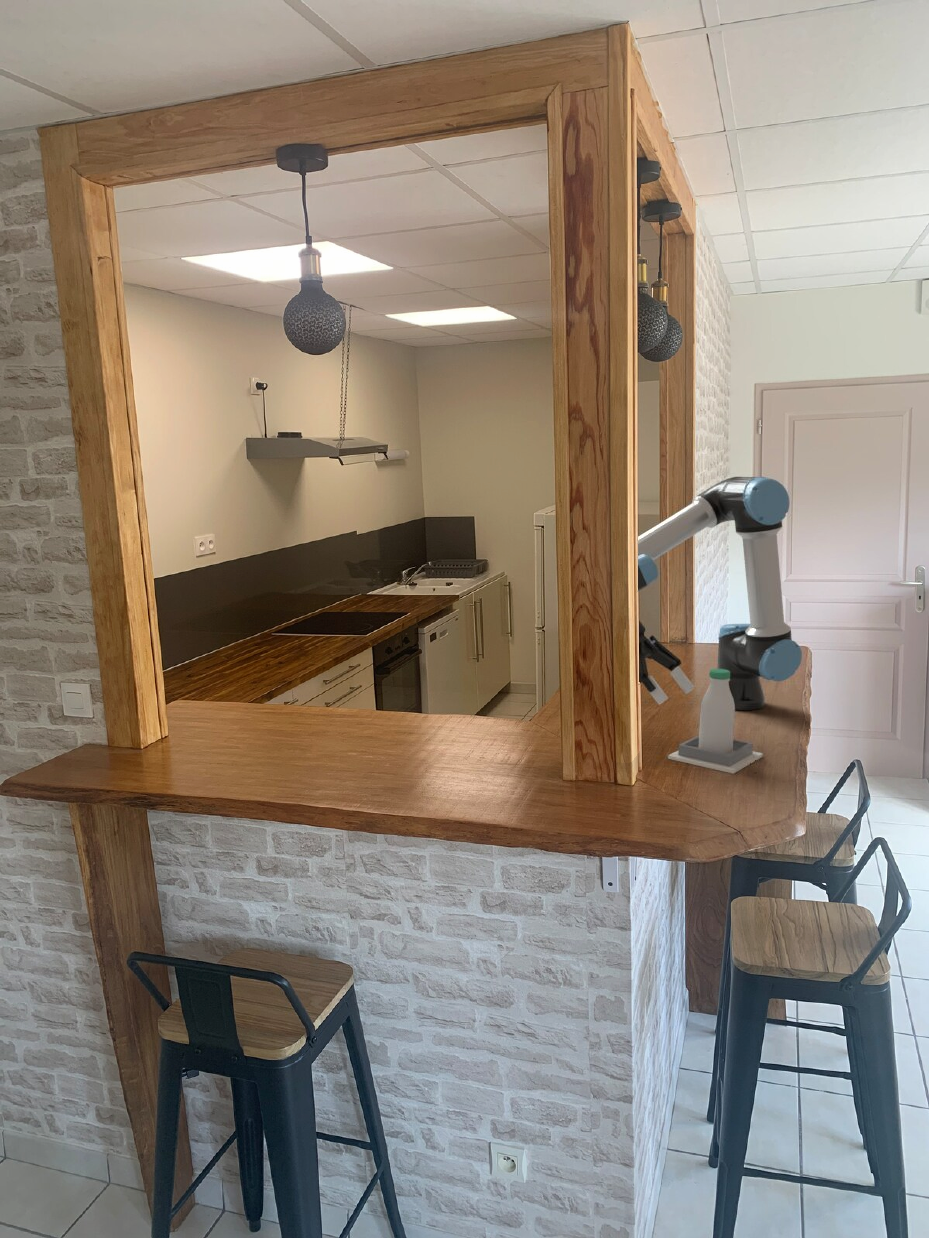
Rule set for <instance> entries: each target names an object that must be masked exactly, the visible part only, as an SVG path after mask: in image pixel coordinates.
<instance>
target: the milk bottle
mask: <svg viewBox="0 0 929 1238" xmlns="http://www.w3.org/2000/svg"><path fill="white" fill-rule="evenodd" d="M708 674H709V685H708V688H707V690H706V692H705V693H704V695H703V697H702V700H701V705H700V714H699V715H700V716H699V728H698V731H699V732H698V735H699V746H698V748H701V749H706V750H710V751H715V752H719V753H724V754H730V753H732V752H733V739H734V736H735V718H736V716H735V714H736V713H735V711H736V710H735V704H734V700H733V697H732V694H731V692H730V689H729V681H730V671H729V670H725V669H717V668H712V669H710V670H709V673H708Z"/></svg>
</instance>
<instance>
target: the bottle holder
mask: <svg viewBox="0 0 929 1238" xmlns="http://www.w3.org/2000/svg"><path fill="white" fill-rule="evenodd" d="M698 746H699V734H697V735H696V736H694V737H692V738H690V739H688V740H685V741H684V742H681V743H678V750H677V751H674V752H672V753H670V754H668V755H667V759H669V760H672V761H677V762H681V763H686V764H690V765H694V766H697V767H702V768H707V769H711V770H715V771H720V772H724V773H728V774H732V775H734V774H736V773H737V772H739V771H740V770H742V769H745V768H746V767H748V766H749V765H750V763H751V764H752V763H754V762H756V761H758V760H760V759H761V758H763V754H764V753H762V752H758V751H754V743H753V742H749V741H744V740H740V739H734V738H733V752H732V753H730V754H724V753H719V752H715V751H710V750H706V749H701V748H698ZM755 760H756V761H755Z"/></svg>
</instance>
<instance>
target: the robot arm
mask: <svg viewBox="0 0 929 1238" xmlns="http://www.w3.org/2000/svg"><path fill="white" fill-rule="evenodd" d="M789 509H790V496H789V493H788V490H787V488H785V486H784V485H783V484H782V483H780V481H778V480H776V479H773V478H768V477H764V476H733V477H729V478H726V479H723V480H720V481H719V482H718V483H716V484H714V485H712V486H711V487H709V488H707V489H705V490H704V491H702V492H701V493H699V494H698V495H696V496H694V497H693V498H692V501H691V503H690V504H689V505H686V506H685V507H683V508H681V510H679V511H677V512H676V513H674V514H672V515H671V516H670V517H668V518H667V519H664V520H662V522H660V523H658V524H657V525H654V526H653V527H651V528H650V529H648V530H647V531H646V532H643V533H641V535H639V536H637V537H638V591H637V592H639V591H641V590H643V589H645V588H646V587H648V586H649V585H651V584H652V583H653V582H655V581H656V580H657V579H658V578H659V569H658V567H657V565H656V564H657V563H655V561H654V560H656V559H658V558H660V557H662V556H663V555H664V554H666V553H668V552H669V551H671V550H672V549H673V548H676V547H677V546H679V545H680V544H682V543H684V542H685V541H686V540H688V539H690V538H692V537H693V536H695V535H696V534H697V533H700V532H702V531H703V530H705V529H706V528H709V529H710V528H712V529H713V528H715V527H716V526H718V525H719V524H722V523H725V522H731V521H734V528H735V533H736V534H737V535H739V536H740V537H741V539H742V546H743V560H744V569H745V571H744V572H745V579H746V580H745V581H746V592H747V600H748V602H747V603H748V610H749V611H748V613H749V623H730V624H729V623H728V624H724V625H722V626H721V627H720V628H719V633H718V638H717V639H718V649H717V650H718V652H717V668H716V669H725V670H729V671H730V681H729V689H730V692H731V694H732V697H733V700H734V704H735V711H736V710H737V711H752V710H760V709H762V708H764V707H765V704H766V701H765V700H766V699H765V698H766V697H765V694H764V690H763V686H762V683H761V680H760V678H762V679H764V680H767V681H773V682H783V681H786V680H788V679H790V678H792V677H793V676H794V675H795V673H796V671H798V669H799V668H800V666H801V664H802V659H803V655H802V654H803V652H802V649H801V647H800V645H799V644H798V643H797V642H796V641H795V640H793V637H792V628H791V626H790V625H789V624H787V623H786V622H785V615H784V606H783V605H784V604H783V593H782V582H781V581H782V580H781V567H780V557H779V545H778V533H779V531H780V530H781V529H782V528H783V520H784V519H785V518H786V517H787V515H786V514H788V512H789ZM645 632H646V627H645V626H644V624H643V623H642V622H641V621H640V620H639V682H640V684H643V686H644V687H645V688H646V690H647V691H648V692H649V693H650V695H651V696H652V697H653V699H654V701H655V702H656V703H657V705H658V706H661V705H662V704H663V703H664V702H665V701H667V700H668V699H669V697H668V696H667V694H666V693H665V691H664V690H663V689H662V687H661V686H660V685H659V684H658V682H657V681H656V680H655V678H654V677H653V676H652V675H649V671H648V667H647V661H646V659H649V660H653V661H655V662H656V663H658V664H659V665H661V666H662V667H664V668H666V669H667V670H669V671H670V672H669V674H670V675H671V677H672V678H673V679H674V680H675V682H676V684H677V685H678V686H679V687H680V689H681V690H682V691H683V692H684V695H688V694H689V693H690V692H692V690H693V689H695V688H696V687H695V686H694V684H693V683H692V681H691V680H690V679H689V677H688V676H687V675H686V673H685V672H684V671H683V670H682V668H681V665H682V660H680V658H679V657H677V656H676V655H675V654H674V653H672V651H670V650H669V649H668V648H667V647H665V646H664V645H663V644H662V643H661V642H660V641H658V639H657V638H656V637H655V635H653V634H652V635H650V636H649V637H646V636H645Z"/></svg>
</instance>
